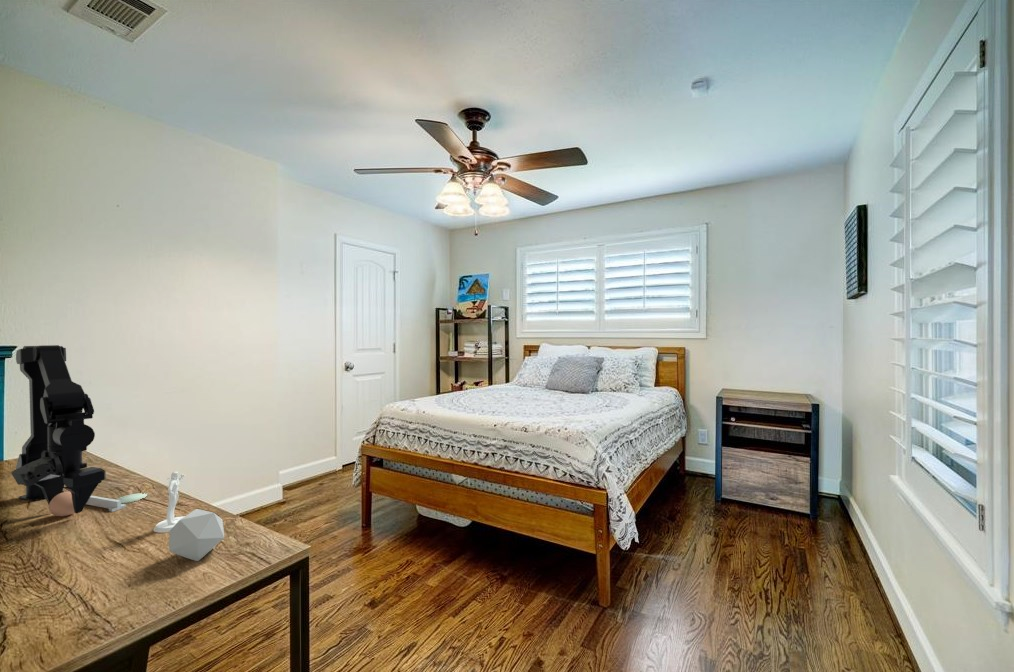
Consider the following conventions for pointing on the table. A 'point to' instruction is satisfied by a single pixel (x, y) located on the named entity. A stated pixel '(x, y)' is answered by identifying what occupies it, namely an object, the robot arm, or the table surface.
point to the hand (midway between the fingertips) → (65, 510)
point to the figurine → (170, 505)
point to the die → (196, 534)
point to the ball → (62, 504)
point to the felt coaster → (131, 498)
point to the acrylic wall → (105, 503)
